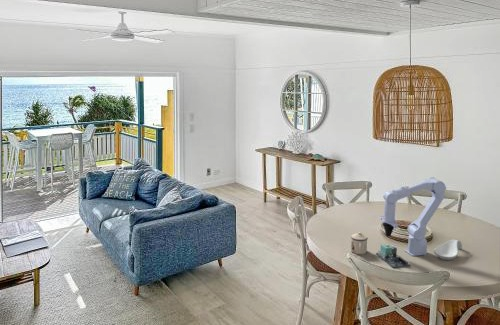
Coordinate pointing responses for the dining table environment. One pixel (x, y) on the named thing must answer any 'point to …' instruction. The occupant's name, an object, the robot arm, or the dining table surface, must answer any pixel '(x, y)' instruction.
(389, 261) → the press base
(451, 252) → the spoon rest
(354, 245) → the teacup with lid
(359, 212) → the dining table surface
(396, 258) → the ram lever
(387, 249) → the block
